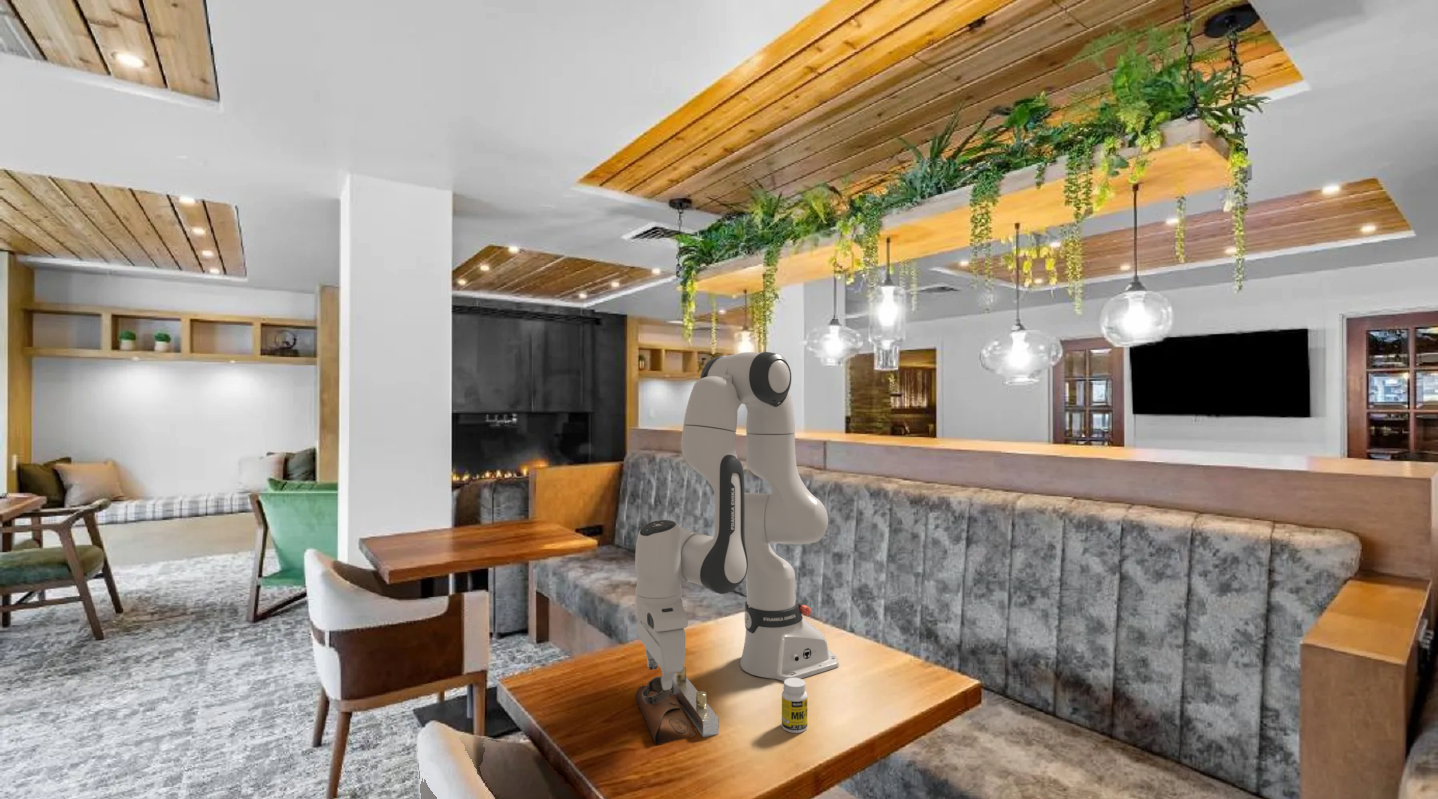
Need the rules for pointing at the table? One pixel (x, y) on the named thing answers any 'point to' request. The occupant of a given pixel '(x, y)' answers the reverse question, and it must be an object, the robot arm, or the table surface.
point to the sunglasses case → (665, 718)
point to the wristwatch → (656, 687)
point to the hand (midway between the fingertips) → (659, 677)
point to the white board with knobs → (695, 705)
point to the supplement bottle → (794, 705)
